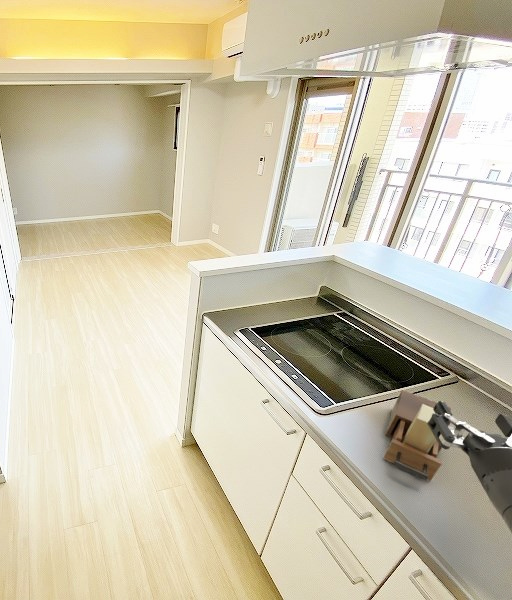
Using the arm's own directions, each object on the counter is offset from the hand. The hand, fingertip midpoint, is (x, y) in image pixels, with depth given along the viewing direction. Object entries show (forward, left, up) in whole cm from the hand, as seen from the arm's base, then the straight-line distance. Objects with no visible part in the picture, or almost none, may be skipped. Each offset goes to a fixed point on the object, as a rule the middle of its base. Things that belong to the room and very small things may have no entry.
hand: (468, 410), depth 61 cm
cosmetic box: (+3, -7, -22) cm, 23 cm away
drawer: (+3, -6, -22) cm, 23 cm away
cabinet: (+3, -17, -23) cm, 29 cm away
